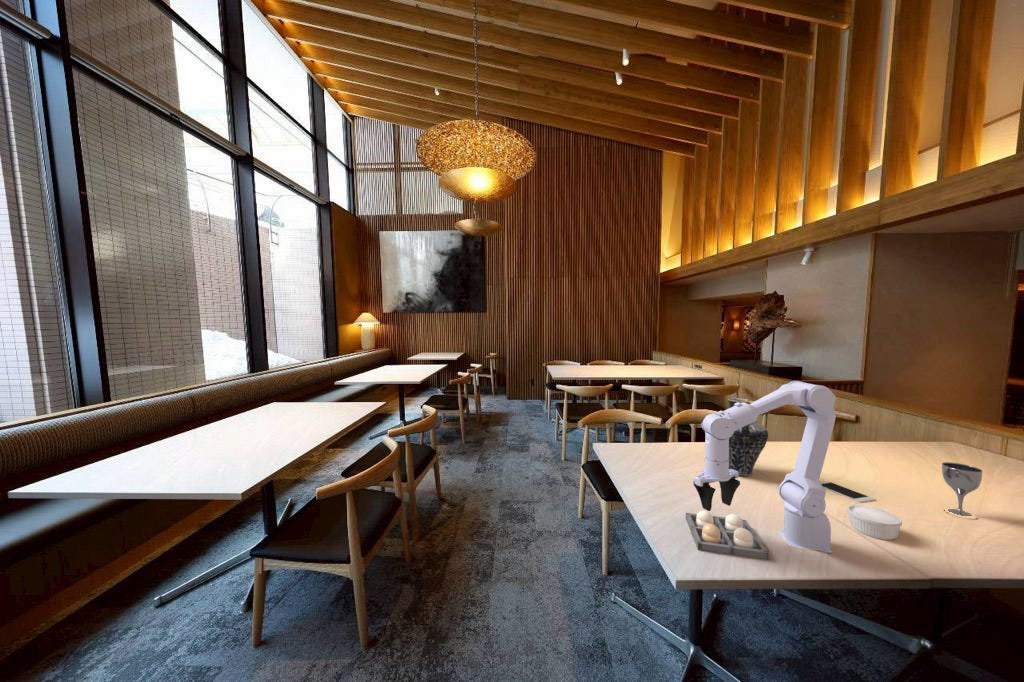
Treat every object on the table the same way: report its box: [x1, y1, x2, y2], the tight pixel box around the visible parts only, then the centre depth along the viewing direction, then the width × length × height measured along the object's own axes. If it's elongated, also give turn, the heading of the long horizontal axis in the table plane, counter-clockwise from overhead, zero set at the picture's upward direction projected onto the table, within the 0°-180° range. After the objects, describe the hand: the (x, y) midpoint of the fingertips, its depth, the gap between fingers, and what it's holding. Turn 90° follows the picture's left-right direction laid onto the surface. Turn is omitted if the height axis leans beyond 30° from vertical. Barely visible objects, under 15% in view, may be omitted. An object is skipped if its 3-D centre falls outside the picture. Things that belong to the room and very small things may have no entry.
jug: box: [727, 397, 769, 477], centre depth 146 cm, size 21×19×30 cm
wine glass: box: [941, 461, 983, 516], centre depth 113 cm, size 8×8×15 cm
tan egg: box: [702, 524, 721, 544], centre depth 98 cm, size 4×4×5 cm
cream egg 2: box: [725, 513, 743, 531], centre depth 103 cm, size 4×4×5 cm
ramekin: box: [846, 504, 903, 541], centre depth 104 cm, size 11×11×5 cm
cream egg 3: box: [734, 528, 753, 549], centre depth 95 cm, size 4×4×5 cm
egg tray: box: [685, 512, 770, 561], centre depth 100 cm, size 16×16×2 cm
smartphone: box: [820, 480, 877, 504], centre depth 129 cm, size 7×16×1 cm, turn 13°
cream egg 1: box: [696, 509, 713, 527], centre depth 105 cm, size 4×4×5 cm
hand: (716, 506), depth 100 cm, fingers open, 7 cm apart
